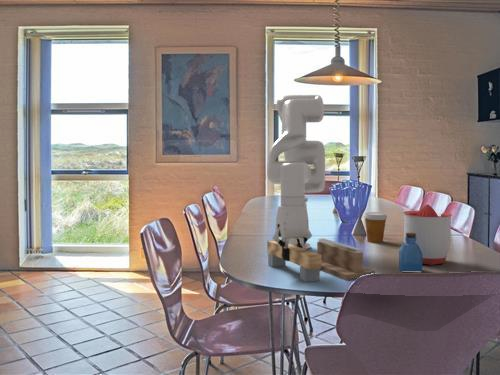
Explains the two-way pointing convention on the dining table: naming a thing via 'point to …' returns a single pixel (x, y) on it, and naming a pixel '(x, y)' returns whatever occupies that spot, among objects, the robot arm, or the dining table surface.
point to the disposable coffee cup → (375, 226)
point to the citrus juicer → (429, 233)
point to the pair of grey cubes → (305, 273)
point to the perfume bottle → (410, 254)
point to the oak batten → (296, 255)
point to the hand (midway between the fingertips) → (292, 258)
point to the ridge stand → (341, 260)
